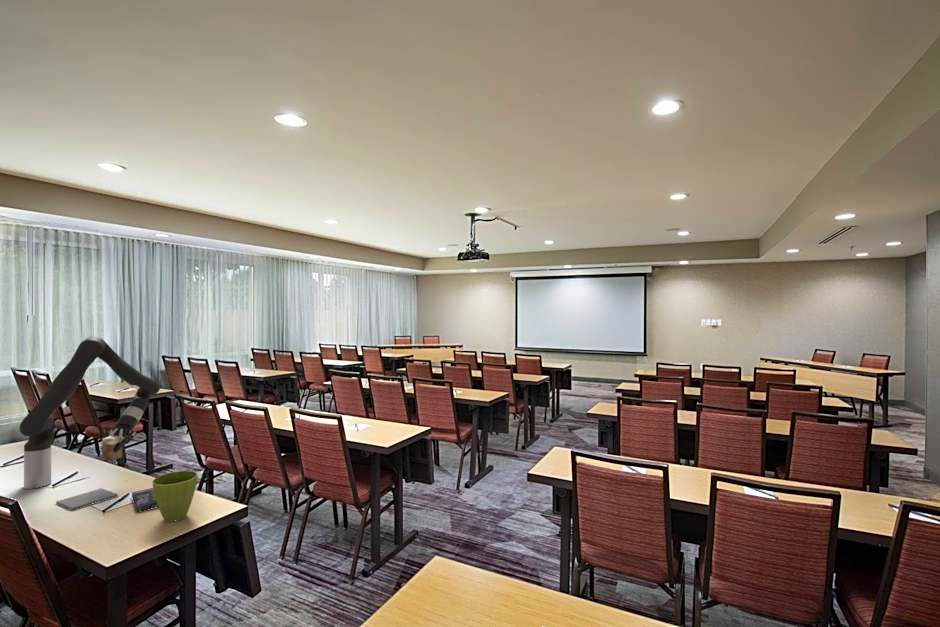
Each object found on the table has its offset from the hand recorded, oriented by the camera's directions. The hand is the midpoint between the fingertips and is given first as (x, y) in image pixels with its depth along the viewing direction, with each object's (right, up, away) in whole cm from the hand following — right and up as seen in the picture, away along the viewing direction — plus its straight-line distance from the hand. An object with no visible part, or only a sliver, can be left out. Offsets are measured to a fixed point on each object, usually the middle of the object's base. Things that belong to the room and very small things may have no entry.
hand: (108, 451), depth 205 cm
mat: (0, -18, -12) cm, 21 cm away
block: (0, -4, +2) cm, 5 cm away
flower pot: (+49, -18, -28) cm, 59 cm away
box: (+29, -18, -12) cm, 36 cm away
